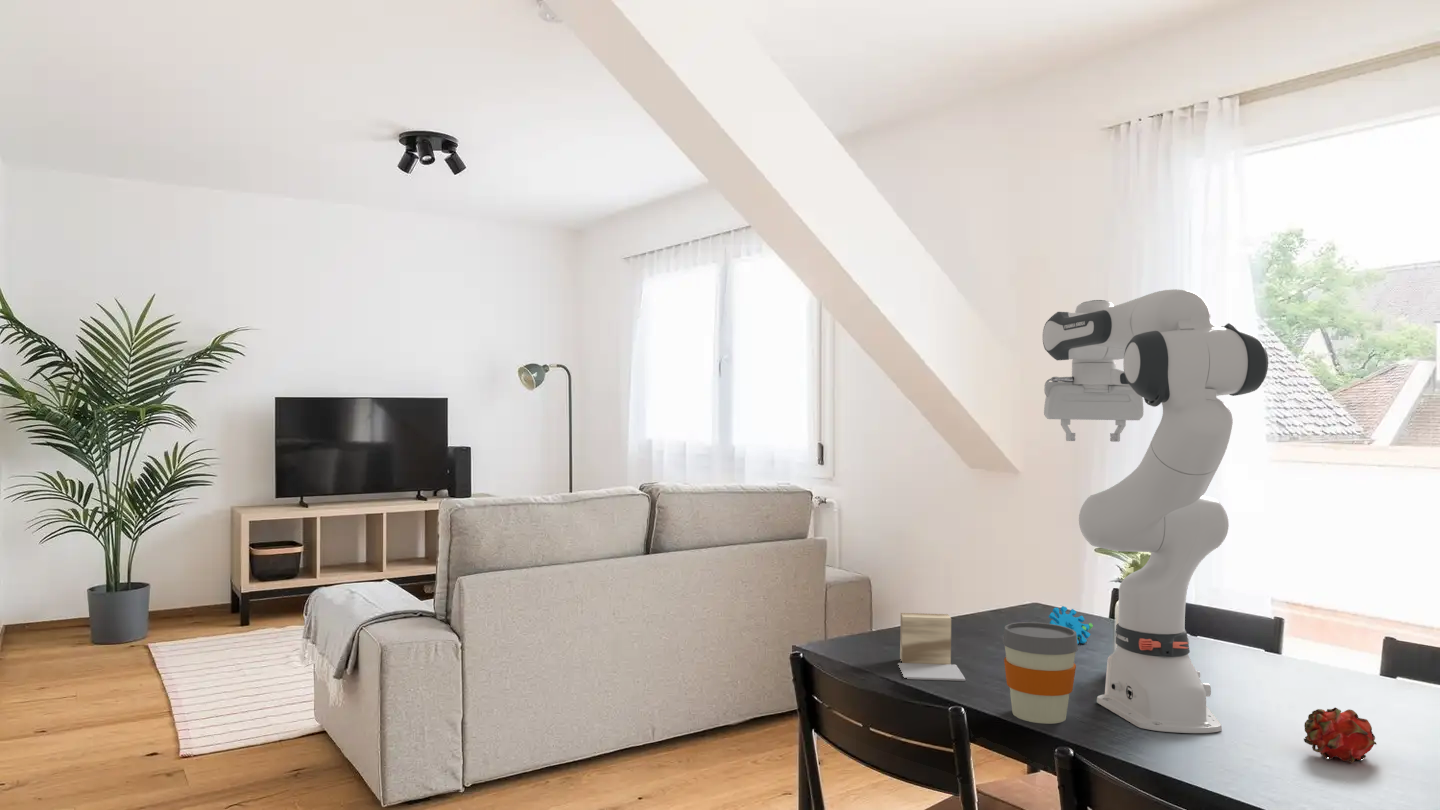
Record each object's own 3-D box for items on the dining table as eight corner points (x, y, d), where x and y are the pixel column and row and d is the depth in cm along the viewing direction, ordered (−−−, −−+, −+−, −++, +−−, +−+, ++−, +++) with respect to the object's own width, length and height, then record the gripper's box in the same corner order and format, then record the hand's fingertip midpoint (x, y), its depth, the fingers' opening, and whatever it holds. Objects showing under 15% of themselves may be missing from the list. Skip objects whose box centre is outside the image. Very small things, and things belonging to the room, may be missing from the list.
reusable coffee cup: (995, 719, 165) (996, 632, 165) (1009, 700, 176) (1010, 619, 176) (1071, 731, 159) (1072, 642, 159) (1081, 711, 170) (1082, 627, 170)
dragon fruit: (1298, 768, 148) (1363, 775, 151) (1340, 752, 142) (1407, 759, 144) (1280, 714, 153) (1343, 721, 156) (1319, 696, 147) (1384, 704, 149)
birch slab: (950, 666, 199) (951, 618, 199) (902, 664, 200) (902, 616, 200) (947, 661, 203) (948, 614, 203) (900, 659, 204) (900, 612, 204)
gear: (1058, 639, 217) (1046, 602, 224) (1046, 653, 221) (1034, 616, 228) (1101, 644, 219) (1088, 607, 226) (1088, 657, 223) (1075, 621, 230)
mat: (965, 680, 188) (965, 678, 188) (904, 678, 189) (904, 676, 189) (955, 666, 199) (955, 664, 199) (897, 664, 200) (897, 662, 200)
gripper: (1049, 376, 203) (1048, 441, 203) (1147, 377, 202) (1146, 442, 202) (1040, 376, 209) (1039, 440, 209) (1135, 378, 208) (1134, 441, 208)
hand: (1092, 441), depth 205 cm, fingers open, 8 cm apart
